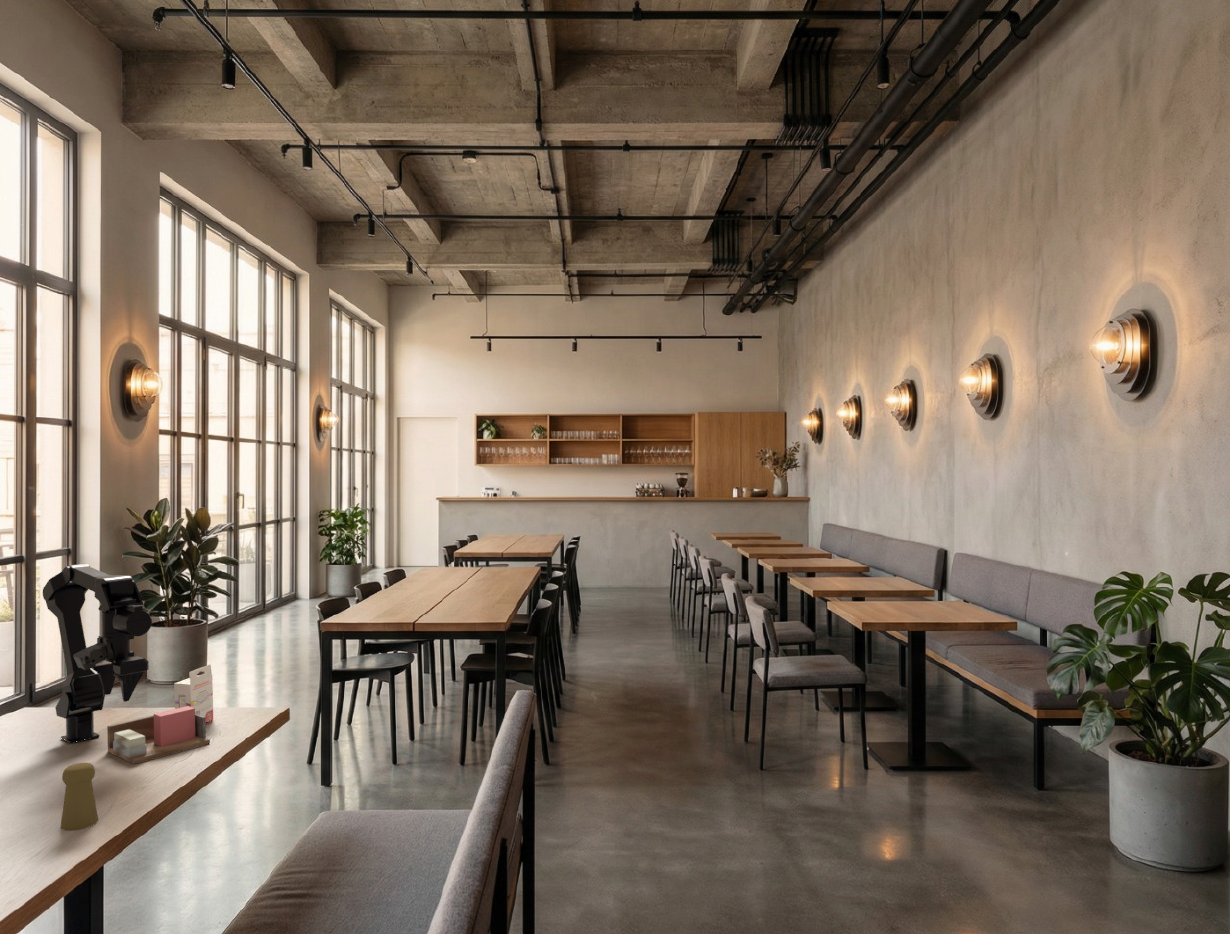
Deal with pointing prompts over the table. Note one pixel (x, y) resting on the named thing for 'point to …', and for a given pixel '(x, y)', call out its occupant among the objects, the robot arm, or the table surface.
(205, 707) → the ink cartridge box
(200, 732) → the shelf
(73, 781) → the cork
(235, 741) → the table surface
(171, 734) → the tall dusty pink block
